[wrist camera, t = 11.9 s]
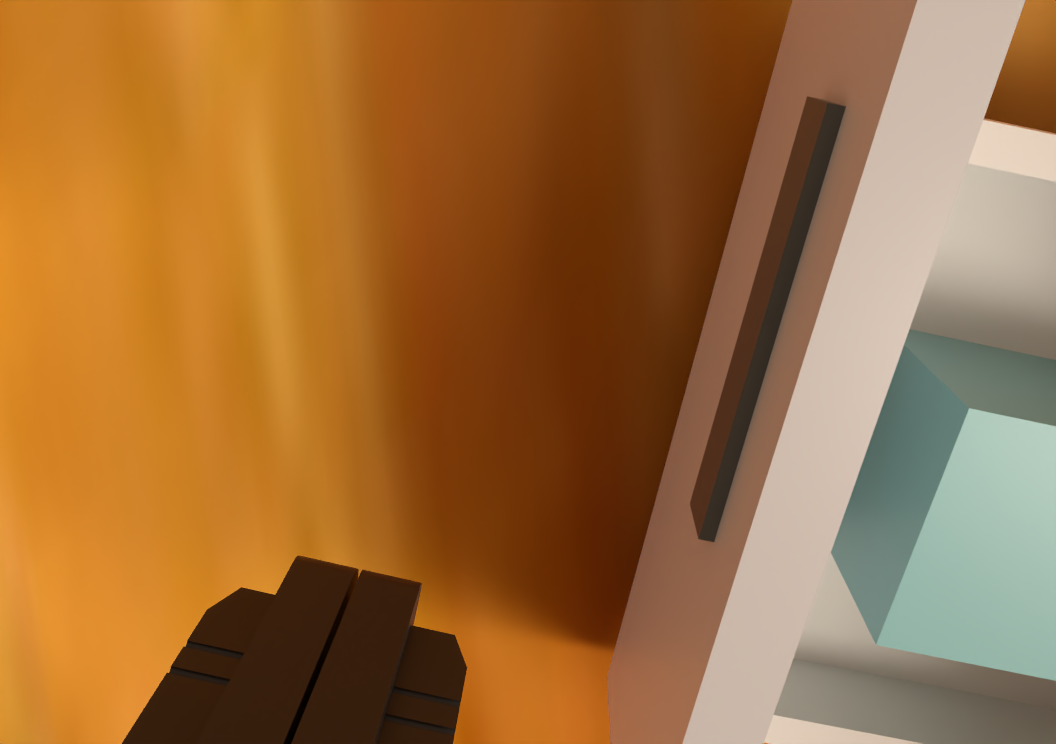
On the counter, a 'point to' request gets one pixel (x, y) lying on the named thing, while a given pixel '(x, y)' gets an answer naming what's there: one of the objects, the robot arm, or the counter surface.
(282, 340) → the counter surface
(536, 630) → the counter surface
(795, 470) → the drawer
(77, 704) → the counter surface
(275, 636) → the robot arm
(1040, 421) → the block
